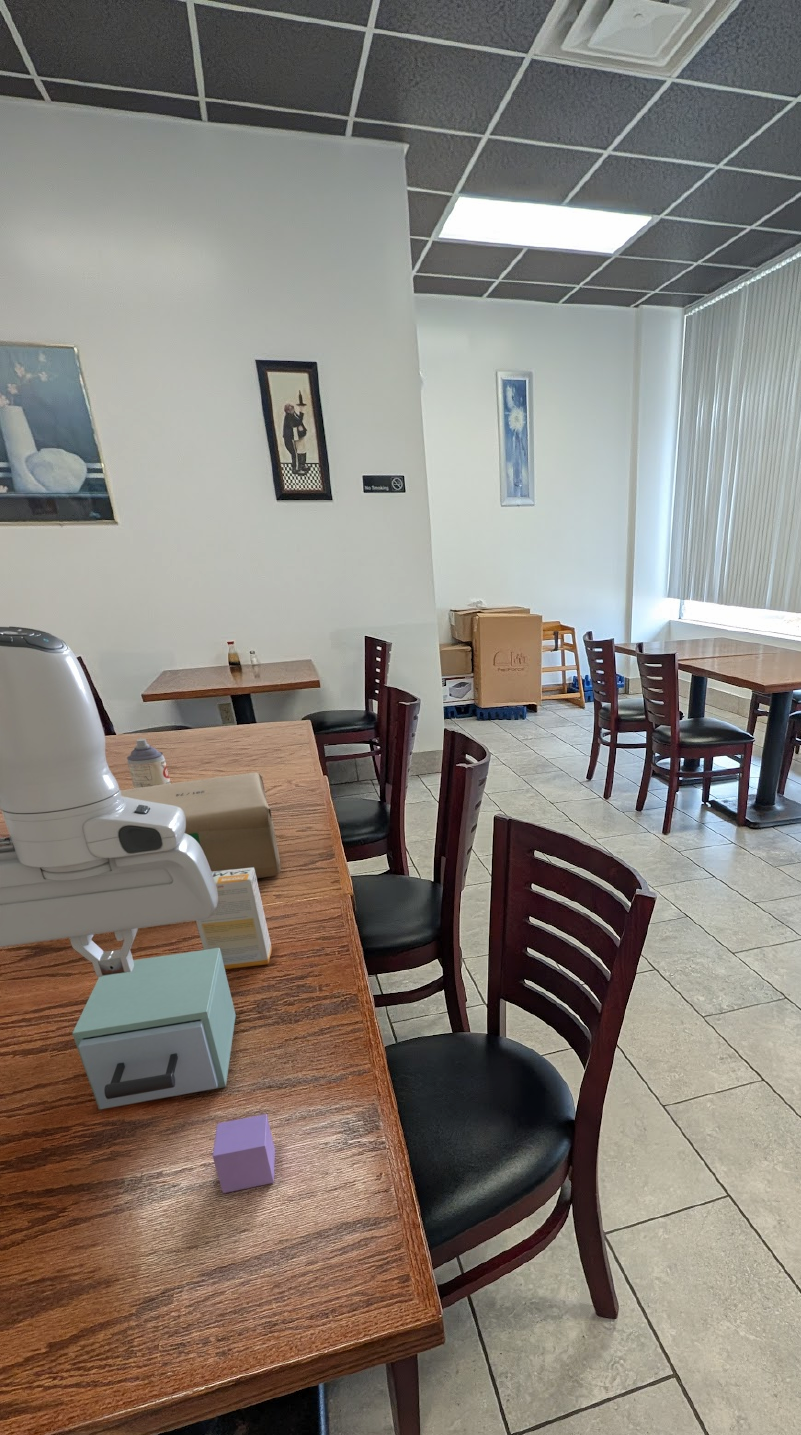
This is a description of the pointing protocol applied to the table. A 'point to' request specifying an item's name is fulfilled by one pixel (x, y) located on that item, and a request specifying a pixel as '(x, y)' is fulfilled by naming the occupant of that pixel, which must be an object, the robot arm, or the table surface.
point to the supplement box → (237, 921)
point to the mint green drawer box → (165, 1002)
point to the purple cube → (244, 1153)
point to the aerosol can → (147, 766)
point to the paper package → (224, 820)
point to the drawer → (149, 1063)
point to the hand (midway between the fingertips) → (116, 971)
